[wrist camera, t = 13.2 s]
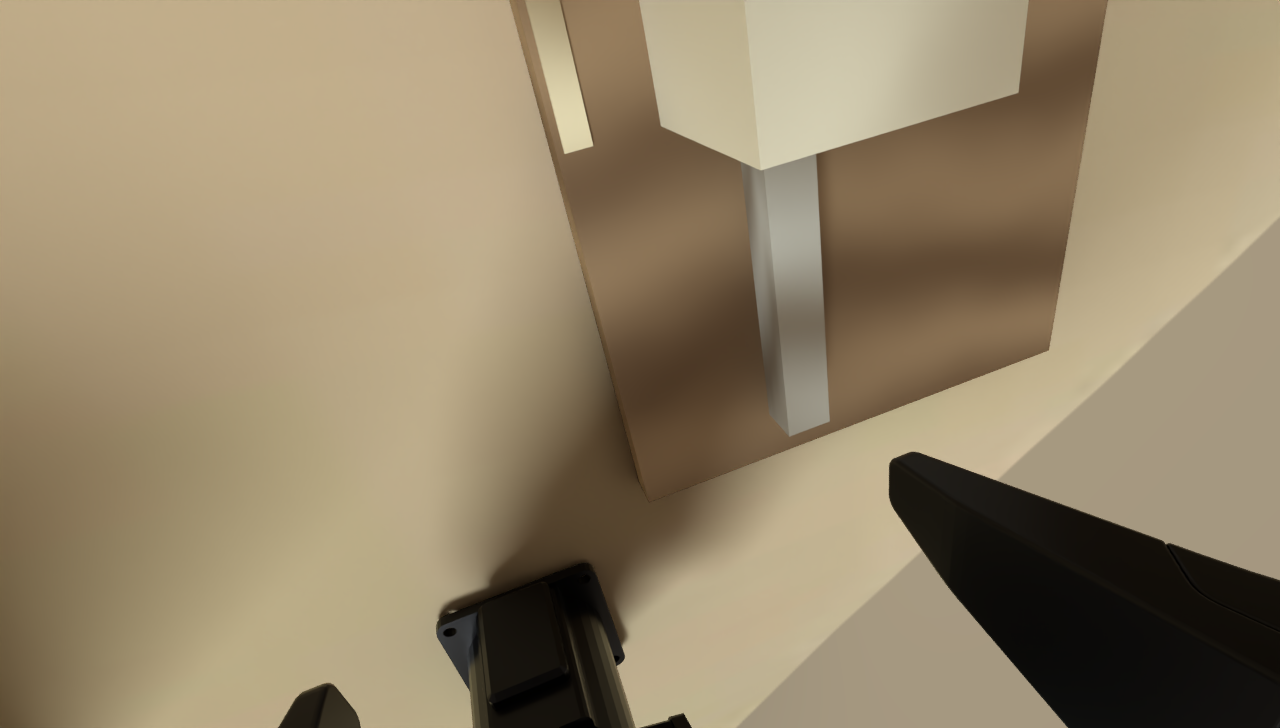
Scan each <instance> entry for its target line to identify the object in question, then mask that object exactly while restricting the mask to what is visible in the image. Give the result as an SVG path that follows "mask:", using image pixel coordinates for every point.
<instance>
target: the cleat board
mask: <svg viewBox="0 0 1280 728" xmlns="http://www.w3.org/2000/svg"><path fill="white" fill-rule="evenodd" d="M1107 1H1108V0H1029V2H1028V11H1027V20H1026V29H1025V38H1024V47H1023V56H1022V65H1021V74H1020V83H1019V92H1018V93H1016V94H1013V95H1010V96H1006V97H1003V98H1000V99H996V100H993V101H990V102H986V103H983V104H980V105H977V106H973V107H970V108H967V109H963V110H960V111H957V112H953V113H950V114H947V115H943V116H940V117H937V118H933V119H930V120H927V121H923V122H920V123H917V124H913V125H910V126H907V127H904V128H900V129H897V130H894V131H890V132H887V133H884V134H880V135H877V136H874V137H870V138H867V139H864V140H860V141H857V142H854V143H850V144H847V145H844V146H840V147H837V148H834V149H830V150H827V151H824V152H821V153H817V154H814V155H811V156H807V157H804V158H801V159H797V160H794V161H791V162H787V163H784V164H781V165H777V166H774V167H771V168H767V169H764V170H759V169H756V168H754V167H752V166H750V165H747V164H745V163H743V162H741V161H738V160H736V159H734V158H731V157H729V156H727V155H725V154H722V153H720V152H718V151H716V150H713V149H711V148H709V147H707V146H704V145H702V144H700V143H698V142H695V141H693V140H691V139H689V138H686V137H684V136H682V135H680V134H677V133H675V132H673V131H671V130H668V129H666V128H664V127H662V126H661V123H660V118H659V112H658V106H657V100H656V95H655V89H654V83H653V78H652V72H651V66H650V60H649V55H648V49H647V43H646V37H645V32H644V26H643V20H642V15H641V9H640V3H639V0H510V4H511V8H512V12H513V15H514V19H515V23H516V26H517V30H518V34H519V37H520V41H521V45H522V49H523V52H524V56H525V60H526V63H527V67H528V71H529V75H530V78H531V82H532V86H533V89H534V93H535V97H536V101H537V104H538V108H539V112H540V115H541V119H542V123H543V127H544V130H545V134H546V138H547V141H548V145H549V149H550V153H551V156H552V160H553V164H554V167H555V171H556V175H557V178H558V182H559V186H560V190H561V193H562V197H563V201H564V204H565V208H566V212H567V216H568V219H569V223H570V227H571V230H572V234H573V238H574V242H575V245H576V249H577V253H578V256H579V260H580V264H581V268H582V271H583V275H584V279H585V282H586V286H587V290H588V293H589V297H590V301H591V305H592V308H593V312H594V316H595V319H596V323H597V327H598V331H599V334H600V338H601V342H602V345H603V349H604V353H605V357H606V360H607V364H608V368H609V371H610V375H611V379H612V383H613V386H614V390H615V394H616V397H617V401H618V405H619V408H620V412H621V416H622V420H623V423H624V427H625V431H626V434H627V438H628V442H629V446H630V449H631V453H632V457H633V460H634V464H635V468H636V472H637V475H638V479H639V483H640V485H641V487H642V489H643V491H644V493H645V495H646V497H647V499H648V501H649V502H652V501H654V500H657V499H659V498H662V497H665V496H667V495H670V494H673V493H675V492H678V491H680V490H683V489H686V488H688V487H691V486H694V485H696V484H699V483H701V482H704V481H707V480H709V479H712V478H715V477H717V476H720V475H722V474H725V473H728V472H730V471H733V470H736V469H738V468H741V467H743V466H746V465H749V464H751V463H754V462H757V461H759V460H762V459H764V458H767V457H770V456H772V455H775V454H778V453H780V452H783V451H785V450H788V449H791V448H793V447H796V446H799V445H801V444H804V443H806V442H809V441H812V440H814V439H817V438H820V437H822V436H825V435H827V434H830V433H833V432H835V431H838V430H841V429H843V428H846V427H848V426H851V425H854V424H856V423H859V422H862V421H864V420H867V419H870V418H872V417H875V416H877V415H880V414H883V413H885V412H888V411H891V410H893V409H896V408H898V407H901V406H904V405H906V404H909V403H912V402H914V401H917V400H919V399H922V398H925V397H927V396H930V395H933V394H935V393H938V392H940V391H943V390H946V389H948V388H951V387H954V386H956V385H959V384H961V383H964V382H967V381H969V380H972V379H975V378H977V377H980V376H982V375H985V374H988V373H990V372H993V371H996V370H998V369H1001V368H1003V367H1006V366H1009V365H1011V364H1014V363H1017V362H1019V361H1022V360H1024V359H1027V358H1030V357H1032V356H1035V355H1038V354H1040V353H1043V352H1045V351H1048V350H1049V346H1050V340H1051V334H1052V328H1053V322H1054V316H1055V310H1056V305H1057V299H1058V293H1059V287H1060V281H1061V275H1062V269H1063V263H1064V257H1065V251H1066V245H1067V239H1068V233H1069V227H1070V221H1071V215H1072V209H1073V203H1074V198H1075V192H1076V186H1077V180H1078V174H1079V168H1080V162H1081V156H1082V150H1083V144H1084V138H1085V132H1086V126H1087V120H1088V114H1089V108H1090V102H1091V96H1092V91H1093V85H1094V79H1095V73H1096V67H1097V61H1098V55H1099V49H1100V43H1101V37H1102V31H1103V25H1104V19H1105V13H1106V7H1107Z"/></svg>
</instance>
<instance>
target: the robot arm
mask: <svg viewBox="0 0 1280 728" xmlns="http://www.w3.org/2000/svg"><path fill="white" fill-rule="evenodd" d="M889 498H890V502H891V505H892V507H893V509H894V510H895V512H896V513H897V515H898V516H899V517H900V519H901V520H902V522H903V523H904V525H905V526H906V528H907V529H908V531H909V532H910V533H911V535H912V536H913V538H914V539H915V541H916V542H917V544H918V545H919V546H920V548H921V549H922V551H923V552H924V554H925V555H926V557H927V558H928V559H929V561H930V562H931V564H932V565H933V567H934V568H935V570H936V571H937V572H938V574H939V575H940V577H941V578H942V579H943V580H944V582H945V583H946V585H947V586H948V588H949V589H950V590H951V591H952V592H953V594H954V595H955V596H956V597H957V599H958V600H959V601H960V602H961V603H962V604H963V605H964V607H965V608H966V609H967V610H968V611H969V612H970V614H971V615H972V616H973V617H974V618H975V620H976V621H977V622H978V623H979V624H980V625H981V626H982V628H983V629H984V630H985V631H986V633H987V634H988V635H989V636H990V637H991V638H992V639H993V641H995V643H996V644H997V645H998V646H999V647H1000V649H1001V650H1002V651H1003V652H1004V653H1005V655H1007V657H1008V658H1009V659H1010V661H1011V662H1012V663H1013V664H1014V665H1015V666H1016V667H1017V669H1018V670H1019V671H1020V672H1021V673H1022V675H1023V676H1024V677H1025V678H1026V679H1027V680H1028V682H1029V683H1030V684H1031V685H1032V686H1033V687H1034V688H1035V690H1036V691H1037V692H1038V693H1039V694H1040V696H1041V697H1042V698H1043V699H1044V700H1045V701H1046V703H1047V704H1048V705H1049V706H1050V707H1051V708H1052V710H1053V711H1054V712H1055V713H1056V714H1057V716H1058V717H1059V718H1060V719H1061V720H1062V721H1063V723H1065V725H1066V726H1067V727H1068V728H1280V580H1277V579H1274V578H1271V577H1268V576H1264V575H1261V574H1258V573H1255V572H1251V571H1248V570H1246V569H1243V568H1240V567H1237V566H1234V565H1231V564H1228V563H1225V562H1222V561H1219V560H1216V559H1213V558H1211V557H1208V556H1204V555H1202V554H1199V553H1196V552H1193V551H1191V550H1188V549H1185V548H1182V547H1179V546H1176V545H1174V544H1171V543H1168V544H1165V543H1164V541H1162V540H1159V539H1157V538H1154V537H1151V536H1149V535H1146V534H1143V533H1140V532H1137V531H1135V530H1132V529H1129V528H1126V527H1124V526H1120V525H1118V524H1115V523H1112V522H1110V521H1107V520H1104V519H1101V518H1099V517H1095V516H1093V515H1090V514H1087V513H1085V512H1082V511H1079V510H1076V509H1073V508H1071V507H1068V506H1065V505H1062V504H1060V503H1057V502H1054V501H1051V500H1049V499H1046V498H1043V497H1040V496H1038V495H1035V494H1032V493H1029V492H1026V491H1024V490H1021V489H1018V488H1015V487H1013V486H1010V485H1007V484H1004V483H1001V482H999V481H996V480H993V479H990V478H988V477H985V476H982V475H979V474H977V473H974V472H971V471H968V470H966V469H963V468H960V467H957V466H954V465H952V464H949V463H946V462H943V461H941V460H938V459H935V458H932V457H929V456H927V455H924V454H921V453H918V452H909V453H907V454H904V455H902V456H899V457H897V458H894V459H893V460H892V461H891V462H890V465H889ZM582 575H585V576H582ZM581 576H582V577H581ZM447 628H450V629H447ZM436 634H437V638H438V639H439V641H440V643H441V644H442V646H443V648H444V649H445V651H446V653H447V654H448V656H449V657H450V659H451V661H452V662H453V664H454V666H455V667H456V669H457V671H458V672H459V674H460V676H461V677H462V679H463V681H464V682H465V684H466V686H467V687H468V689H469V691H470V696H471V709H472V721H473V728H635V724H634V721H633V718H632V715H631V711H630V708H629V705H628V702H627V699H626V695H625V692H624V689H623V686H622V682H621V679H620V676H619V673H618V670H617V665H619V664H621V663H622V662H623V660H624V658H625V655H624V652H623V649H622V646H621V643H620V640H619V637H618V634H617V632H616V629H615V626H614V623H613V620H612V617H611V615H610V612H609V609H608V606H607V603H606V601H605V598H604V595H603V592H602V589H601V587H600V584H599V581H598V578H597V575H596V572H595V570H594V567H593V566H592V565H591V564H589V563H581V564H578V565H575V566H572V567H570V568H567V569H565V570H562V571H560V572H557V573H554V574H552V575H549V576H547V577H544V578H542V579H539V580H537V581H534V582H531V583H529V584H526V585H524V586H521V587H519V588H516V589H513V590H511V591H508V592H506V593H503V594H501V595H498V596H496V597H493V598H490V599H488V600H485V601H483V602H480V603H478V604H475V605H472V606H470V607H467V608H465V609H462V610H460V611H457V612H454V613H452V614H449V615H447V616H444V617H443V618H441V619H440V620H439V621H438V622H437V625H436ZM278 728H361V727H360V722H359V719H358V716H357V714H356V712H355V710H354V709H353V708H352V707H351V705H350V704H349V703H348V702H347V700H346V699H345V698H344V697H343V695H342V694H341V693H340V692H339V690H338V689H337V688H336V687H335V686H334V685H333V684H331V683H324V684H322V685H319V686H317V687H314V688H312V689H309V690H306V691H304V692H302V693H301V694H300V695H299V696H298V697H297V698H296V699H295V701H294V702H293V704H292V706H291V707H290V709H289V711H288V712H287V714H286V716H285V717H284V719H283V721H282V722H281V724H280V726H279V727H278ZM641 728H692V727H691V726H690V724H689V722H688V720H687V718H686V717H685V715H684V714H683V713H682V714H678V715H674V716H671V717H669V718H668V720H667V721H663V722H659V723H656V724H652V725H648V726H645V727H641Z"/></svg>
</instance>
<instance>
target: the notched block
mask: <svg viewBox="0 0 1280 728" xmlns="http://www.w3.org/2000/svg"><path fill="white" fill-rule="evenodd" d="M1028 2H1029V0H639V3H640V9H641V15H642V20H643V26H644V32H645V37H646V43H647V49H648V55H649V60H650V66H651V72H652V78H653V83H654V89H655V95H656V100H657V106H658V112H659V118H660V123H661V126H662V127H664V128H666V129H668V130H671V131H673V132H675V133H677V134H680V135H682V136H684V137H686V138H689V139H691V140H693V141H695V142H698V143H700V144H702V145H704V146H707V147H709V148H711V149H713V150H716V151H718V152H720V153H722V154H725V155H727V156H729V157H731V158H734V159H736V160H738V161H741V162H743V163H745V164H747V165H750V166H752V167H754V168H756V169H759V170H764V169H767V168H771V167H774V166H777V165H781V164H784V163H787V162H791V161H794V160H797V159H801V158H804V157H807V156H811V155H814V154H817V153H821V152H824V151H827V150H830V149H834V148H837V147H840V146H844V145H847V144H850V143H854V142H857V141H860V140H864V139H867V138H870V137H874V136H877V135H880V134H884V133H887V132H890V131H894V130H897V129H900V128H904V127H907V126H910V125H913V124H917V123H920V122H923V121H927V120H930V119H933V118H937V117H940V116H943V115H947V114H950V113H953V112H957V111H960V110H963V109H967V108H970V107H973V106H977V105H980V104H983V103H986V102H990V101H993V100H996V99H1000V98H1003V97H1006V96H1010V95H1013V94H1016V93H1018V92H1019V83H1020V74H1021V65H1022V56H1023V47H1024V38H1025V29H1026V20H1027V11H1028Z"/></svg>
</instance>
